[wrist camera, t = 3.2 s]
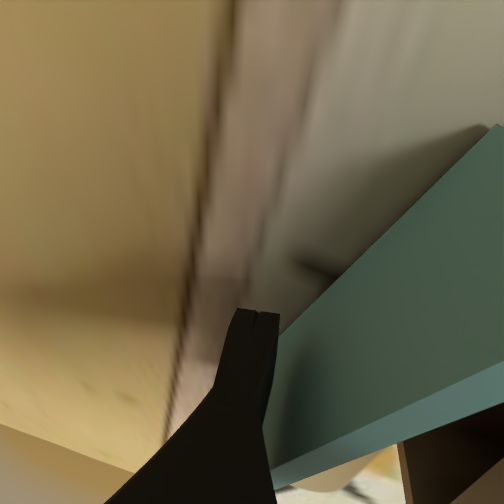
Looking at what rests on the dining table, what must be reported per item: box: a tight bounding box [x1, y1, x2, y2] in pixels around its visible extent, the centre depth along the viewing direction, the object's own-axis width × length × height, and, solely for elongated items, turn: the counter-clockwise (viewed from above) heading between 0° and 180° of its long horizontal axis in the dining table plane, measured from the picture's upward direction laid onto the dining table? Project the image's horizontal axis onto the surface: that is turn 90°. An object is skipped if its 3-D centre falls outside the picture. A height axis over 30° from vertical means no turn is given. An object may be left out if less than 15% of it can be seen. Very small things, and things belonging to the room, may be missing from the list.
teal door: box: [262, 124, 504, 490], centre depth 9 cm, size 2×13×5 cm, turn 152°
